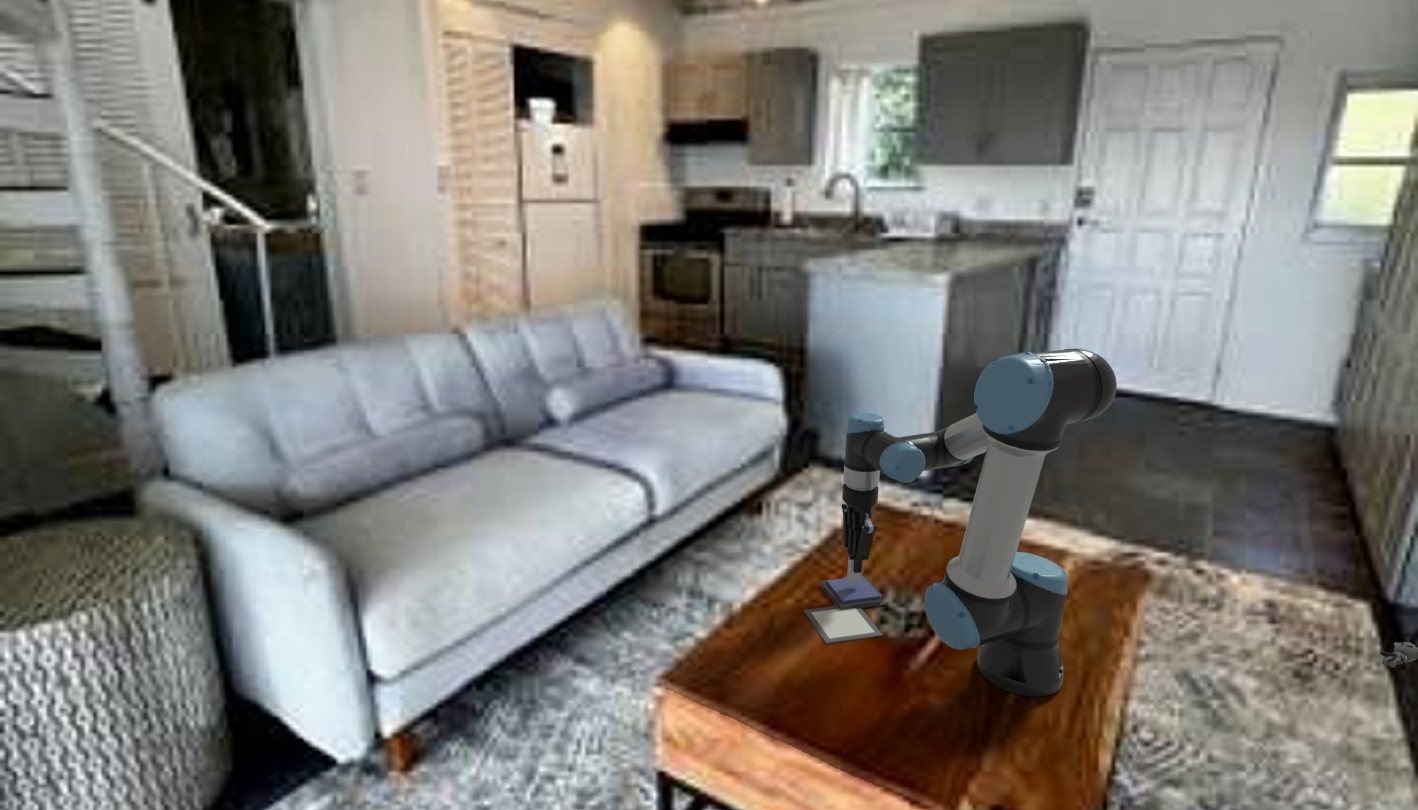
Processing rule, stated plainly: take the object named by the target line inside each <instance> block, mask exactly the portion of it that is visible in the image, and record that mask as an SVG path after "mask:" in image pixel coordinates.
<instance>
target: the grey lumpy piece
mask: <svg viewBox="0 0 1418 810" xmlns="http://www.w3.org/2000/svg"><path fill="white" fill-rule="evenodd" d="M1393 645H1394V648H1393V652H1388V651H1380V656H1383V657H1386V658H1384V659H1383V660H1382V661H1381V665H1383V666H1384V667H1390V668H1391V669H1396V667H1397V665H1402V664H1408V663H1412V662H1413V663H1414V664H1415V662H1417V661H1418V647H1417V646H1416V645H1415V644H1414V643H1411V642H1410V641H1402V642H1394V643H1393Z"/></svg>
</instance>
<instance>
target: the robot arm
mask: <svg viewBox="0 0 1418 810" xmlns="http://www.w3.org/2000/svg"><path fill="white" fill-rule="evenodd" d="M1114 371H1115V370H1114V369H1113V368H1112V366H1111V364H1110V363H1109V362H1108V361H1107V360H1106V359H1105V358H1104V357H1103V356H1101V355H1100V354H1097V353H1095V352H1094V351H1091V350H1088V349H1083V348H1065V349H1064V348H1063V349H1057V350H1049V351H1038V352H1030V351H1028V352H1024V351H1023V352H1017V353H1014V354H1011V355H1007V356H1003V357H1002V356H1001V357H999V358H997V359H996V360H994V361H992V362H990V363H989V364H988V365H987V366H986V367H985V368H983V370H982V372H981V374H980V375H979V377H978V378H977V379H978V380H977V382H976V384H975V387H974V393H973V403H974V405H975V406H977V409H976V410H975V412H976V413H973V414H971V415H970V416H967V417H965V418H962V419H960V420H959V421H956V422H955V423H952V424H950V425H948V426H947V427H946V426H945V428H942V429H940V430H937V431H932V432H928V433H927V432H925V433H917V434H911V435H905V436H894V435H892V434H890V433H888V432H886V431H884V430H885V421H884V419H883V417H882V416H880V415H879V414H877V413H876V414H875V413H871V412H856V413H853V414H851V415H850V416H849V418H848V419H847V427H846V432H845V455H844V466H843V477H842V478H843V479H842V481H843V482H842V483H843V485H842V497H841V498H842V501H843V502H844V503H842V504H841V511H842V520H843V521H842V523H843V525H842V526H843V547H844V548H845V549H846V551H847V554H848V557H847V559H848V562H847V571H846V572H847V573H846V574H847V575H846V578H847V583H848V584H849V585H855V584H861V576H862V572H863V562H864V561H868V560H869V557H870V554H871V550H872V546H873V541H874V536H875V533H876V531H877V529H878V527H877V526H878V525H876V524H873V522H872V508H873V507H874V506H875V505H876V504H878V501H879V491H880V490H879V486H878V485H880V475H881V474H880V473H882V474H884V475H886V476H887V477H888V478H890V479H893V480H896V481H898V482H900V483H911V482H913V481H915V480H916V479H918V478H919V477H921V475H922V474H923V472H927V471H932V470H938V469H943V468H950V467H951V468H953V467H959V466H962V465H965V464H968V463H970V462H971V461H972V460H974V457H976V456H979V455H982V454H984V453H985V455H984V459H983V462H982V467H981V471H980V473H979V479H978V482H977V486H976V490H975V493H974V497H973V501H972V505H971V509H970V512H969V516H968V521H967V523H966V528H965V532H964V535H963V540H962V542H961V548H960V551H959V555H958V556H956V557H953V558H951V559H950V560H949V561H948V563H947V565H946V567H945V568H946V569H945V572H944V577H943V580H942V581H941V582H935V583H933V584H931V585H930V586H929V587H927V588H926V590H925V592H924V593H925V594H924V598H923V599H924V601H923V602H924V609H925V614H926V617H927V619H928V621H929V625H930V626H931V628H932V630H933V631H934V633H935V634H936V636H937V637H938V638H939V639H940V640H941V641H942V642H943V643H944V644H946V645H947V646H948V647H951V648H952V649H955V650H966V649H971V648H973V649H975V648H978V647H979V648H978V653H977V659H976V666H977V669H978V671H979V673H980V674H981V675H982V677H984V678H985V679H986V680H987V681H988V682H990V683H991V684H993V686H995V687H997V688H999V689H1001V690H1003V691H1007V692H1009V693H1012V694H1015V695H1018V696H1024V697H1030V698H1031V697H1035V698H1036V697H1037V698H1038V697H1041V698H1042V697H1046V696H1047V697H1048V696H1050V695H1054V694H1056V693H1057V692H1058V691H1059V690H1061V687H1062V686H1063V681H1064V676H1065V675H1064V674H1065V672H1064V665H1063V660H1062V656H1061V651H1060V647H1059V640H1060V633H1061V629H1062V628H1061V627H1062V621H1063V616H1064V610H1065V603H1066V598H1067V595H1068V580H1069V579H1068V575H1067V573H1066V571H1065V569H1063V567H1061V566H1060V565H1059V564H1057V563H1056V562H1055V561H1054V562H1053V561H1052V560H1050V559H1047V558H1045V557H1042V556H1040V555H1037V554H1033V553H1029V552H1024V551H1018V549H1019V545H1020V542H1021V539H1022V535H1023V531H1024V528H1025V526H1026V522H1027V519H1028V515H1029V511H1030V509H1031V505H1032V501H1033V498H1034V494H1035V492H1036V488H1037V485H1038V481H1039V477H1040V476H1041V475H1040V474H1041V471H1042V468H1043V464H1044V461H1045V458H1046V457H1045V456H1046V455H1047V454H1049V453H1052V452H1054V451H1056V450H1057V449H1059V447H1060V445H1061V441H1062V438H1063V435H1064V432H1065V428H1066V426H1067V427H1068V426H1071V425H1074V424H1077V423H1080V422H1086V421H1088V420H1092V419H1094V418H1097V417H1099V416H1100V415H1102V414H1103V413H1104V412H1105V411H1107V409H1109V407H1110V406H1111V405H1112V403H1113V401H1114V399H1115V396H1116V393H1117V377H1116V373H1115V372H1114Z"/></svg>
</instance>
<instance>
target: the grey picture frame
mask: <svg viewBox="0 0 1418 810" xmlns="http://www.w3.org/2000/svg"><path fill="white" fill-rule="evenodd" d="M803 612H804V614H805V616H806V617H807V618H808V620H809V621H810V622H811V625H813V627H814V628H815V630H816V631H817V633H818V635H820V638H821V639H822V640H823V642H824V643H825V644H826V645H831V644H836V643H842V642H843V643H844V642H850V641H858V640H865V639H871V638H878V637H883V635H884V634H883V633H882V631H881V630H880V629H879V628H878V627H877V626H876V624H875V623H874V622H873V621H872V620H871V618H870V617H869V616H868V614H867V613H866V612H865V611H864V610H863V608H860V607H858V608H851V609H843V610H840V609H839V608H838V606H836V605H833V606H826V607H817V608H811V609H808V608H807V609H804V610H803Z"/></svg>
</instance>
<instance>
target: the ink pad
mask: <svg viewBox="0 0 1418 810" xmlns="http://www.w3.org/2000/svg"><path fill="white" fill-rule="evenodd" d="M820 587H821V588H822V590H823V591H824V592H825V594H826V595H827V596H828V597H829V599H830V600H831V601H832V602H833V604H834V606H838V608H839V609H840V610H843V609H851V608H858V607H860V608H861V609H866V608H874V607H875V608H876V607H881V606H880V603H881V602H878V601H879V600H881V598H882V596H884V595H883V594H882V593H881V592H880V590H879V589H878V588H877V587H876V586H875V584H873V583H872V582H871V580H870V579H869V578H868V577H867V576H866V575H861V584H855V585H849V584H848V583H847V577H844V578H842V577H841V578H836V579H835V578H833V579H827V580H821V581H820Z"/></svg>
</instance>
